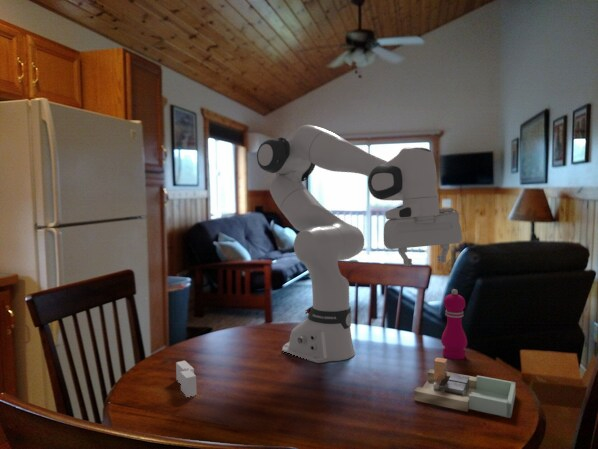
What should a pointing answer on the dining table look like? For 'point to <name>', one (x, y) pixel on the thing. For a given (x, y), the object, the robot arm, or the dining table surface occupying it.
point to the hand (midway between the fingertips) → (425, 264)
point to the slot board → (444, 393)
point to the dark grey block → (460, 380)
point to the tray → (493, 396)
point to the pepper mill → (454, 327)
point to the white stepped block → (186, 378)
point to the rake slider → (440, 374)
